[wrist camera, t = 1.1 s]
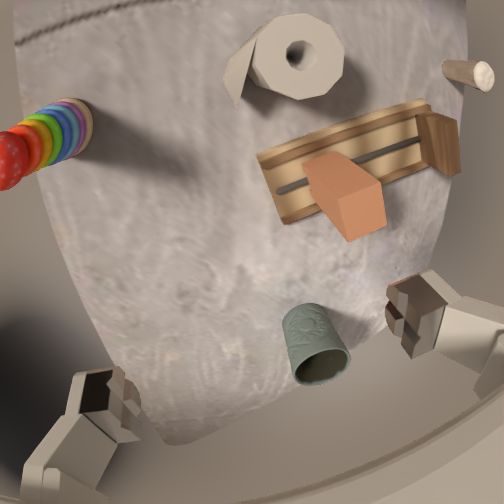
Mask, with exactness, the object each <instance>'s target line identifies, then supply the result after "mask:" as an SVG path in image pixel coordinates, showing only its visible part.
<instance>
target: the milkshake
mask: <svg viewBox="0 0 504 504" xmlns="http://www.w3.org/2000/svg"><path fill="white" fill-rule="evenodd" d="M442 72H443V74H444V76H445V77H446V78H448V79H451V80H454V81H457V82H460V83H463V84H466V85H469V86H472V87H474V88H476V89H479V90H481V91H484V92H486V91H489V90H490V89H491V88H492V86H493V84H494V80H495V79H494V73H493V70H492V69H491V67H490V66H489V65H488V64H487V63H485V62H483V61H464V60H446V61H444V62H443V64H442Z"/></svg>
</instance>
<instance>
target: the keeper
mask: <svg viewBox="0 0 504 504" xmlns="http://www.w3.org/2000/svg"><path fill="white" fill-rule="evenodd" d="M301 166H302V169H303V171H304V172H305V173H306V176H307V179H308V182H309V185H310V188H311V189H309V190H310V194H311V196H312V198H313V199H314V201H315V202H316V203H317V204H318V206H319V207H320V208H321V209H322V211H323V212H324V213H325V214H326V215H327V217H328V218H329V219H330V220H331V222H332V223H333V224H334V225H335V227H336V228H337V229H338V231H339V232H340V233H341V234H342V236H343V237H344V238H345V239H346V241H347V242H348V243H349V242H351V241H353V240H355V239H358V238H360V237H362V236H365V235H367V234H369V233H371V232H374V231H376V230H378V229H380V228H383V227H385V226H387V221H386V213H385V207H384V200H383V194H382V188H381V182H380V181H379V180H377V179H376V178H374V177H373V176H372V175H370V174H369V173H368V172H366V171H365V170H363V169H362V168H361V167H359V166H358V165H356V164H355V163H354V162H352V161H351V160H349V159H348V158H346V157H345V156H343V155H342V154H340V153H339V152H336V151H332V152H330V153H327V154H324V155H322V156H319V157H316V158H314V159H311V160H309V161H306V162H304V163H301Z"/></svg>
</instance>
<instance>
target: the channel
mask: <svg viewBox="0 0 504 504" xmlns="http://www.w3.org/2000/svg"><path fill="white" fill-rule="evenodd" d="M416 136H420V137H421V141H420V142H417V143H414V144H411V145H408V146H406V147H403V148H400V149H397V150H394V151H392V152H389V153H386V154H384V155H381V156H378V157H375V158H373V159H370V160H367V161H365V162H362V163H360V164H357V165H358V166H359V167H361V168H362V169H363V170H365V171H366V172H368V173H369V174H370V175H372V176H373V177H374V178H376V179H377V180H379V181H380V182H381V186H382V185H384V184H387V183H389V182H392V181H394V180H397V179H399V178H401V177H404V176H406V175H409V174H411V173H414V172H416V171H419V170H421V169H424V168H426V167H429V166H432V167H433V168H435V169H437V170H438V171H440V172H442V173H443V174H445V175H447V176H448V177H451V176H453V175H456V174H458V173H460V172H461V169H460V151H459V137H458V127H457V120H455V119H452V118H449V117H447V116H444V115H441V114H438V113H435V112H432V111H431V105H428V104H426V100H425V99H417V100H413V101H410V102H406V103H402V104H399V105H396V106H392V107H389V108H385V109H382V110H379V111H376V112H372V113H369V114H366V115H363V116H360V117H357V118H354V119H351V120H348V121H345V122H342V123H339V124H336V125H333V126H330V127H327V128H324V129H321V130H319V131H316V132H313V133H310V134H308V135H305V136H302V137H299V138H297V139H294V140H291V141H289V142H286V143H284V144H281V145H278V146H276V147H273V148H271V149H268V150H266V151H263V152H261V153H258V154H256V157H257V160H258V162H259V165H260V167H261V170H262V172H263V175H264V177H265V180H266V182H267V185H268V187H269V190H270V192H271V195H272V197H273V200H274V203H275V205H276V208H277V210H278V213H279V216H280V218H281V221H282V223H283V225H284V226H285V225H287V224H290V223H292V222H294V221H297V220H299V219H302V218H304V217H306V216H309V215H311V214H314V213H316V212H318V211H321V210H322V209H321V208H320V207H319V206H318V204H317V203H316V202H315V201H314V199H313V198H312V196H311V194H310V190H309V189H311V188H310V185H309V183H308V184H306V185H303V186H301V187H298V188H296V189H293V190H291V191H289V192H286V193H284V194H281V195H277V194H276V190H277V189H278V188H281V187H283V186H285V185H288V184H290V183H293V182H295V181H298V180H300V179H303V178H305V177H307V176H306V173H305V172H304V171H303V169H302V166H301V163H304V162H306V161H309V160H311V159H314V158H316V157H319V156H322V155H324V154H327V153H330V152H332V151H336V152H339V153H340V154H342V155H343V156H345V157H346V158H348V159H349V160H352V159H354V158H357V157H360V156H362V155H365V154H368V153H371V152H373V151H376V150H379V149H382V148H384V147H387V146H390V145H393V144H396V143H398V142H401V141H404V140H407V139H410V138H413V137H416Z"/></svg>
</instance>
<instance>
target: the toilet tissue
mask: <svg viewBox="0 0 504 504" xmlns="http://www.w3.org/2000/svg"><path fill="white" fill-rule="evenodd" d="M344 51H345V49H344V48H343V46H342V44H341V42H340V41H339V39H338V37H337V35H336V34H335V32H334V30H333V29H332V27H331V26H330V25H328V24H326V23H325V22H323V21H321V20H319V19H317V18H314V17H312V16H310V15H308V14H306V13H300V14H293V15H286V16H279V17H275V18H274V19H272V20H271V21H269V22H267V23H266V24H264V25H262V26H261V27H259V28H258V29H257V30H256V31H255V32H254V34H253V35H252V36H251V37H250V38H249V39H248V40H247V41H246V42H245V43H244V44H243V45H242V47H241V48H240V49H239V50H238V51H237V52H236V53H235V54H234V56H233V57H232V58H231V59H230V60H229V62H228V65H227V68H226V72H225V75H224V78H223V83H224V85H225V87H226V89H227V91H228V93H229V95H230V96H231V98H232V100H233V102H234V104H235V106H236V108H238V104H239V100H240V96H241V93H242V89H243V85H244V81H245V78H246V74H247V73H248V75H249V76H250V78H251V79H252V81H253V82H254V84H255V85H257V86H259V87H262V88H265V89H267V90H270V91H273V92H275V93H278V94H281V95H284V96H287V97H290V98H293V99H296V100H301V99H305V98H310V97H315V96H320V95H325V94H326V93H327V91H328V90H329V89H330V88H331V87H332V86H333V85H334V84H335V83H336V82H337V81H338V79H339V78H340V77H341V76H342V72H343V62H344Z"/></svg>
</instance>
